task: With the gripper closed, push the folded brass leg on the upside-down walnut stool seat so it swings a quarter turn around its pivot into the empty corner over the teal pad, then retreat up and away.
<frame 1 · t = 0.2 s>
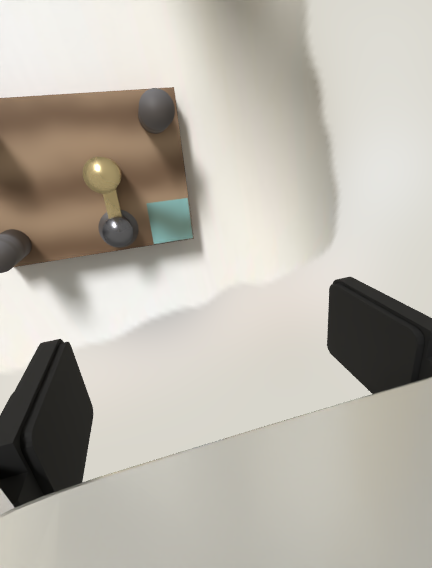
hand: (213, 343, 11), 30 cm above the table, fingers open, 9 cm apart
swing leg: (111, 205, 31), point 6 cm above the table, hinge at 90.0°
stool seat: (87, 180, 35), on the table
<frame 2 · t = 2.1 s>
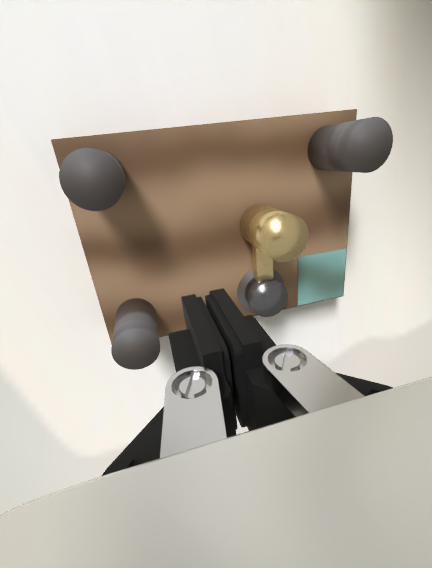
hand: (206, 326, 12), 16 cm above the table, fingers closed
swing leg: (272, 268, 23), point 6 cm above the table, hinge at 90.0°
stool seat: (219, 227, 27), on the table
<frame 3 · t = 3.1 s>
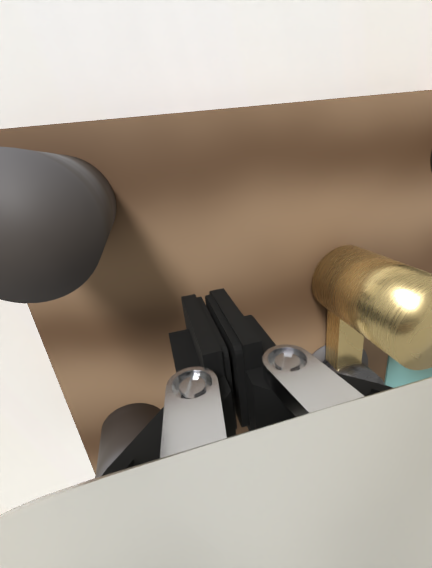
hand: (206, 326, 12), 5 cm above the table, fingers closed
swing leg: (373, 359, 13), point 6 cm above the table, hinge at 90.0°
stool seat: (266, 274, 17), on the table
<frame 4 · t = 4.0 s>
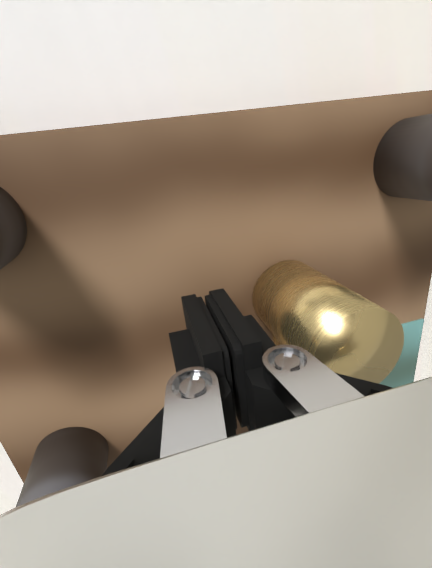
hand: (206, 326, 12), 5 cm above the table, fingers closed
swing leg: (314, 381, 13), point 6 cm above the table, hinge at 89.8°, touching gripper
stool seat: (215, 288, 16), on the table
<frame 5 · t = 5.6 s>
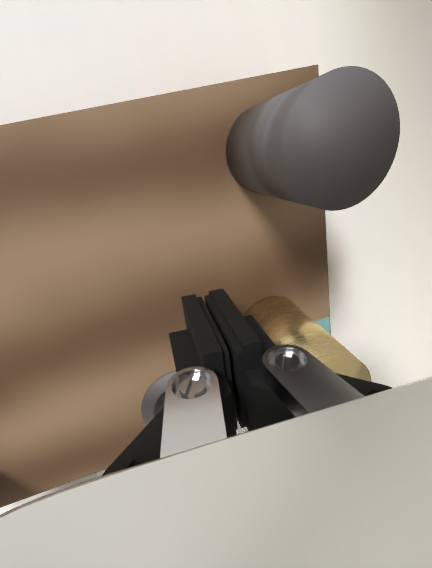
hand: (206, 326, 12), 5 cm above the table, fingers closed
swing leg: (243, 403, 13), point 6 cm above the table, hinge at 32.0°, touching gripper
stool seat: (104, 301, 16), on the table
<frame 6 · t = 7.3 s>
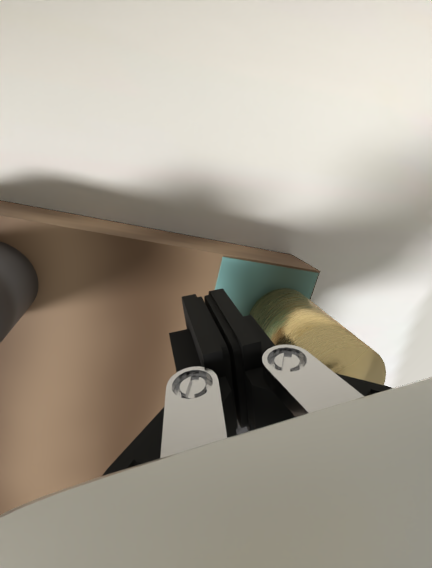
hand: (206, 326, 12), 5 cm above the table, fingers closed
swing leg: (273, 406, 13), point 6 cm above the table, hinge at -9.7°, touching gripper
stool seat: (120, 407, 18), on the table
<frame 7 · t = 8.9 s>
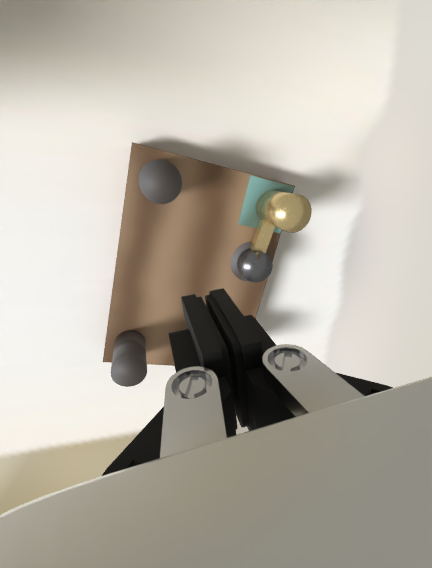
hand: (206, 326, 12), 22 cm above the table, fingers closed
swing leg: (270, 240, 29), point 6 cm above the table, hinge at -4.2°
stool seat: (191, 267, 34), on the table
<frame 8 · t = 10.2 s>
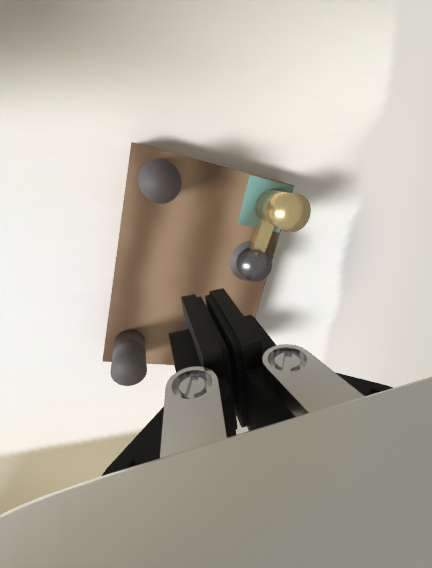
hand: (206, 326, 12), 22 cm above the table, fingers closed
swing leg: (269, 240, 29), point 6 cm above the table, hinge at -4.2°
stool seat: (190, 267, 34), on the table
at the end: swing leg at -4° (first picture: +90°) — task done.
